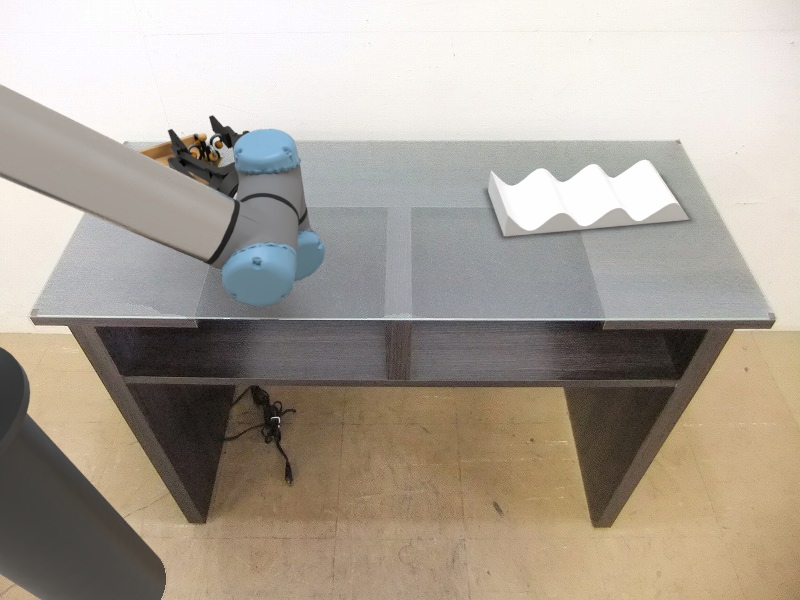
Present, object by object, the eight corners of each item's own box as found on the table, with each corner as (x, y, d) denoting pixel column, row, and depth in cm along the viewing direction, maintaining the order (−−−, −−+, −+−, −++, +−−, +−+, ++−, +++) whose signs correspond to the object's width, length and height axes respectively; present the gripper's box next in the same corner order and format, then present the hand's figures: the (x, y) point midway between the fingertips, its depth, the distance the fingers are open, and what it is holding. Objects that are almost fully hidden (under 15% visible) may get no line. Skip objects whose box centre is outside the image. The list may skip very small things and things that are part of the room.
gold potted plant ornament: (192, 182, 99) (183, 140, 93) (200, 165, 103) (192, 123, 97) (221, 185, 99) (214, 143, 93) (228, 167, 103) (221, 126, 97)
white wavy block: (689, 219, 110) (699, 197, 106) (503, 236, 108) (507, 214, 104) (659, 176, 119) (668, 155, 115) (487, 191, 116) (490, 169, 112)
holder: (153, 202, 115) (147, 189, 112) (135, 166, 122) (130, 152, 120) (221, 180, 119) (217, 166, 117) (200, 146, 127) (196, 133, 124)
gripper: (196, 247, 86) (143, 168, 98) (314, 198, 93) (250, 130, 106) (181, 206, 80) (127, 128, 93) (308, 157, 87) (241, 91, 100)
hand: (192, 129), depth 99 cm, fingers closed on gold potted plant ornament, 6 cm apart
